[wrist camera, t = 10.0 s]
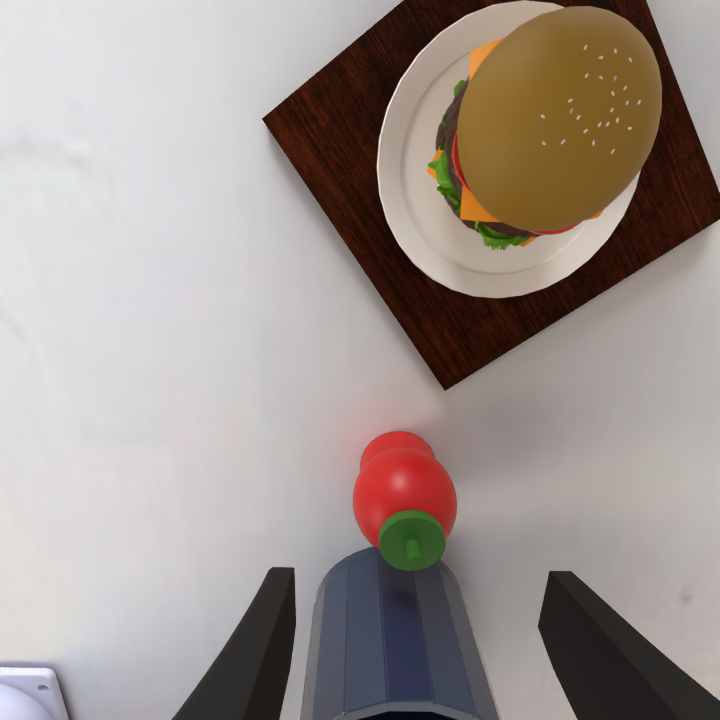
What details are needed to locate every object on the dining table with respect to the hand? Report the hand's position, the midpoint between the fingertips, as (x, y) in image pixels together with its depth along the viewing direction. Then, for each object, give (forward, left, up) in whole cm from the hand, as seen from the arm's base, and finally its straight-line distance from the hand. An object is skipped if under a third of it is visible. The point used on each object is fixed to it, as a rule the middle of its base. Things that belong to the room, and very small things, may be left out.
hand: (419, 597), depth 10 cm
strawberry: (0, 0, -7) cm, 7 cm away
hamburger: (+12, -3, -7) cm, 14 cm away
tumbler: (-8, 0, -7) cm, 11 cm away
